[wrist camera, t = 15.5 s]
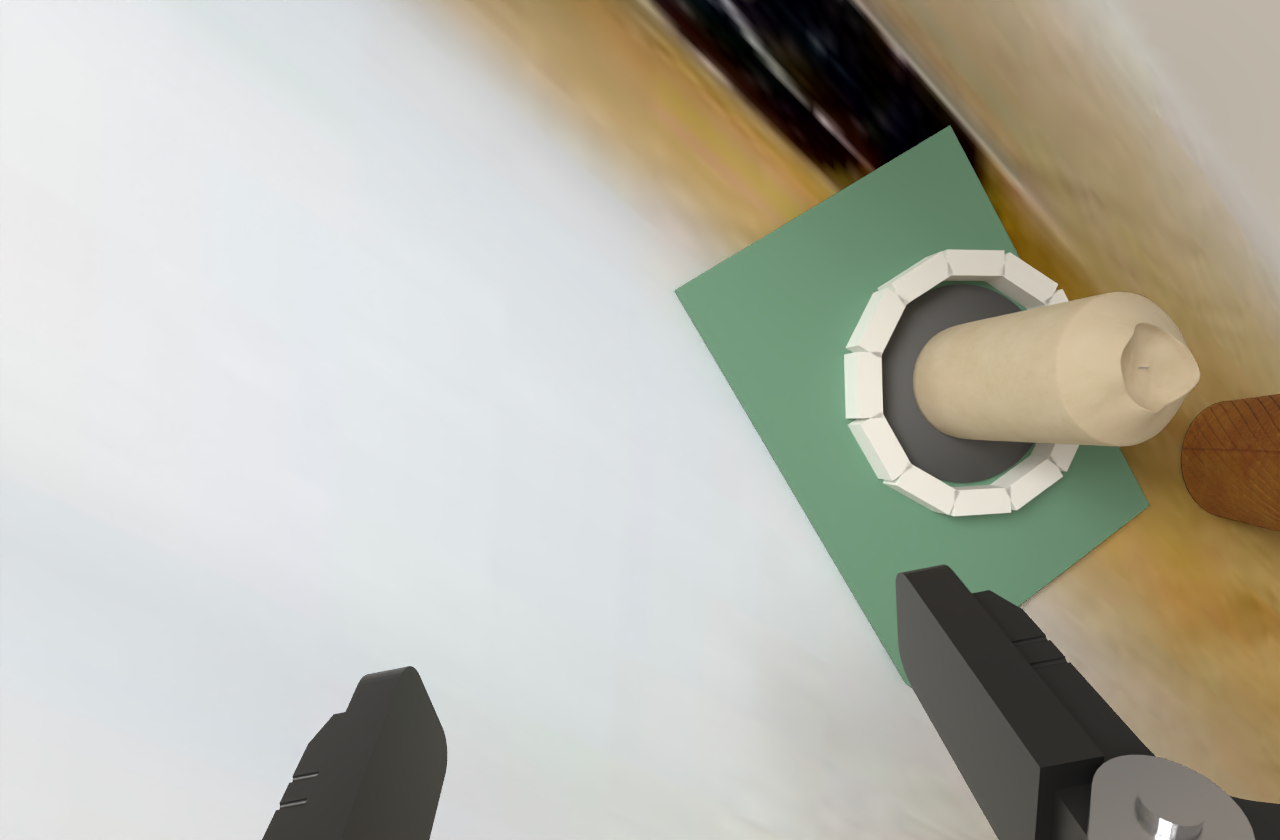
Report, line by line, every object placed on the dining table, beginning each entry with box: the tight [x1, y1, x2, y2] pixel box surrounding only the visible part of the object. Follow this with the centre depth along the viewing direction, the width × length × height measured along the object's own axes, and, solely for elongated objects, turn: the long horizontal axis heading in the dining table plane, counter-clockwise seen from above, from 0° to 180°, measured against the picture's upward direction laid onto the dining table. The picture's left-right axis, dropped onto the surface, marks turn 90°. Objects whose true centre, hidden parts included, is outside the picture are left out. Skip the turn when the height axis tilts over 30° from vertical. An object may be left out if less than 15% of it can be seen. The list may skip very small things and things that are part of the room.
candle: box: [913, 292, 1200, 447], centre depth 27 cm, size 6×6×10 cm
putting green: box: [675, 126, 1150, 688], centre depth 31 cm, size 22×16×2 cm
